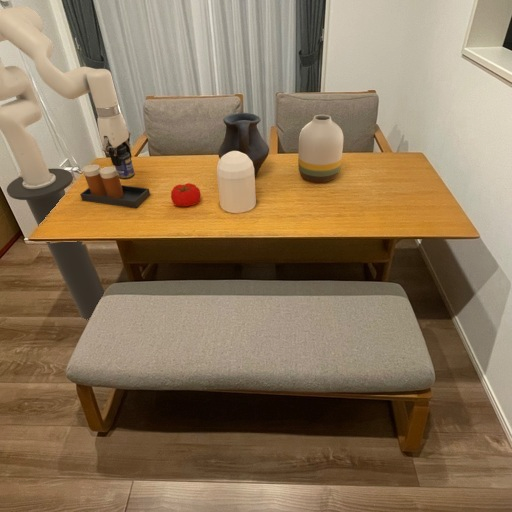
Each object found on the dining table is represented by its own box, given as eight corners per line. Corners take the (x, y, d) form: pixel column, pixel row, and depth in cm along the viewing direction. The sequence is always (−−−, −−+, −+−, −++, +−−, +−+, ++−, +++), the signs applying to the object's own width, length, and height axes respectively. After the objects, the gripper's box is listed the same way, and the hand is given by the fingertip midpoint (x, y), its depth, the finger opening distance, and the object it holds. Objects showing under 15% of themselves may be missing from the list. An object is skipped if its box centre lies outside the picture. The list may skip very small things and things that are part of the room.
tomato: (172, 198, 148) (168, 183, 144) (200, 194, 150) (198, 179, 146) (173, 211, 141) (169, 195, 137) (202, 207, 142) (200, 191, 138)
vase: (317, 163, 167) (320, 106, 152) (348, 176, 156) (355, 116, 142) (289, 176, 158) (289, 117, 143) (320, 190, 148) (324, 129, 133)
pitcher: (266, 161, 171) (264, 103, 155) (273, 184, 154) (272, 122, 138) (219, 165, 169) (213, 107, 154) (222, 189, 152) (215, 126, 137)
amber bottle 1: (88, 196, 150) (78, 170, 144) (97, 189, 155) (89, 163, 148) (101, 198, 149) (92, 172, 142) (110, 190, 153) (102, 165, 147)
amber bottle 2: (104, 198, 149) (95, 172, 142) (113, 191, 153) (105, 165, 146) (118, 200, 147) (110, 174, 140) (127, 192, 152) (119, 167, 145)
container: (259, 210, 139) (257, 158, 126) (222, 215, 137) (216, 163, 125) (252, 192, 149) (249, 142, 137) (218, 197, 148) (212, 147, 135)
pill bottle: (132, 179, 140) (124, 151, 133) (116, 180, 140) (107, 151, 133) (137, 172, 145) (129, 143, 138) (121, 172, 145) (113, 144, 138)
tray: (82, 200, 150) (80, 194, 148) (98, 188, 157) (96, 181, 156) (136, 208, 144) (134, 201, 142) (150, 194, 151) (148, 188, 149)
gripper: (113, 102, 135) (126, 150, 146) (82, 118, 122) (99, 171, 133) (132, 103, 133) (144, 152, 144) (102, 120, 120) (118, 173, 131)
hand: (122, 161), depth 139 cm, fingers closed on pill bottle, 6 cm apart
